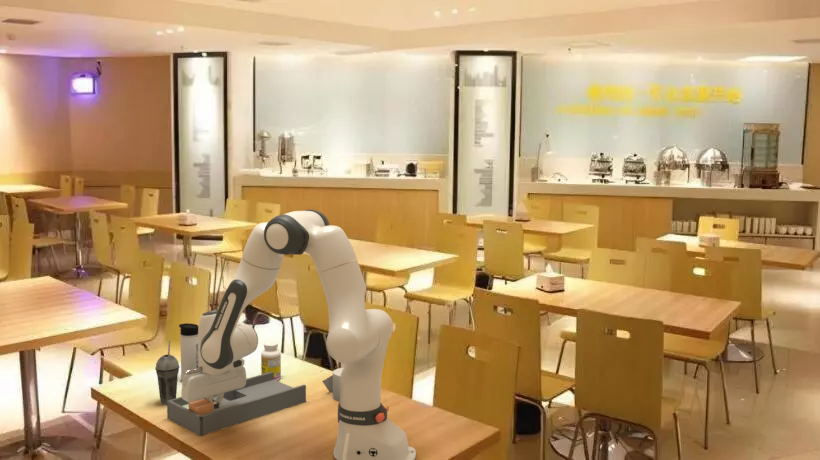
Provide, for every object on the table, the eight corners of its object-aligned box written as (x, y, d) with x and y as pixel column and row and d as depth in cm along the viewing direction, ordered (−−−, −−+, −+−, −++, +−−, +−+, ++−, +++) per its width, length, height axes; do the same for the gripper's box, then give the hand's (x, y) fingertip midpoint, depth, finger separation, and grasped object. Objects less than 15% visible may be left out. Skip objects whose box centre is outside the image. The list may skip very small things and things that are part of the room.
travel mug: (179, 378, 264) (177, 322, 261) (198, 376, 267) (197, 320, 264) (181, 384, 259) (180, 327, 256) (201, 382, 261) (200, 325, 258)
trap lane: (271, 387, 258) (271, 371, 257) (305, 401, 246) (305, 385, 245) (167, 418, 230) (167, 400, 229) (200, 436, 218) (199, 417, 217)
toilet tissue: (325, 390, 256) (325, 365, 255) (364, 393, 254) (364, 368, 253) (317, 400, 248) (318, 374, 246) (358, 403, 246) (358, 377, 244)
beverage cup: (151, 404, 241) (149, 342, 238) (168, 396, 247) (166, 337, 244) (168, 408, 238) (166, 346, 235) (185, 401, 244) (183, 340, 241)
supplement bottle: (260, 376, 268) (260, 341, 266) (279, 375, 270) (279, 340, 268) (262, 383, 262) (262, 346, 260) (281, 381, 264) (281, 345, 262)
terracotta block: (203, 411, 228) (203, 398, 228) (213, 416, 225) (212, 403, 224) (188, 415, 225) (188, 402, 224) (198, 420, 221) (197, 407, 221)
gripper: (188, 374, 216) (189, 421, 218) (249, 359, 231) (249, 402, 233) (176, 368, 220) (177, 414, 222) (237, 354, 235) (237, 397, 237)
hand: (214, 408), depth 228 cm, fingers closed
